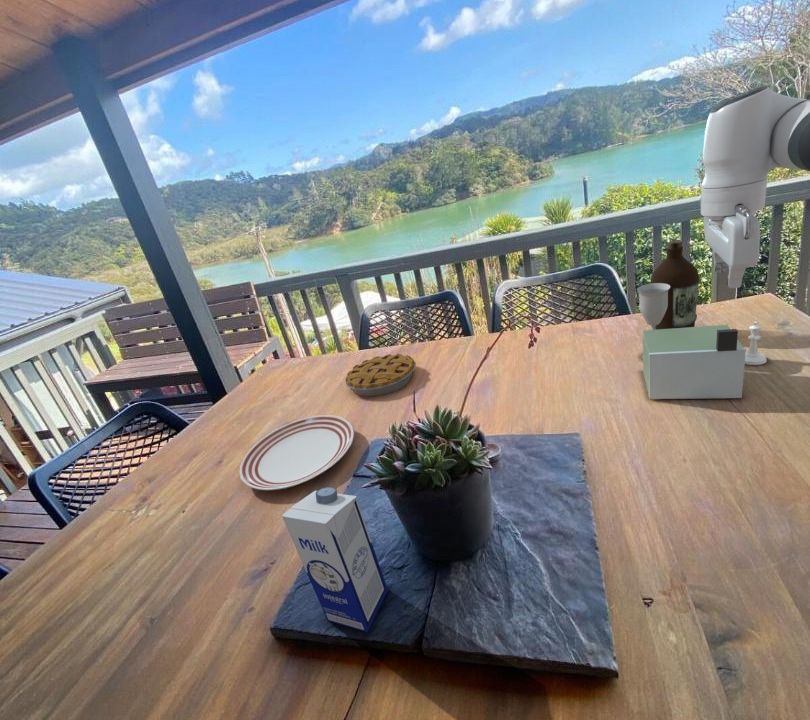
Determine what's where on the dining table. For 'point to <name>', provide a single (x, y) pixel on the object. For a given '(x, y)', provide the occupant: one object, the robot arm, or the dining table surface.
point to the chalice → (653, 302)
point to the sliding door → (699, 371)
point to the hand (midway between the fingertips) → (726, 279)
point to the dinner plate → (296, 452)
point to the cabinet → (679, 342)
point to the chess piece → (754, 347)
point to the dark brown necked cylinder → (678, 288)
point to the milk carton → (338, 556)
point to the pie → (381, 375)
